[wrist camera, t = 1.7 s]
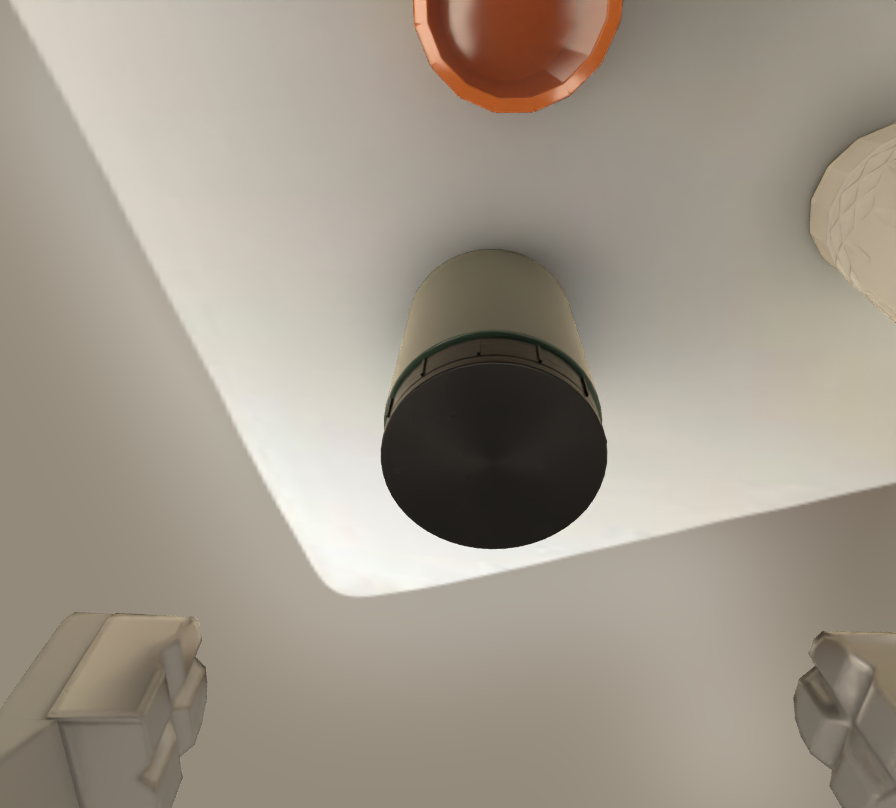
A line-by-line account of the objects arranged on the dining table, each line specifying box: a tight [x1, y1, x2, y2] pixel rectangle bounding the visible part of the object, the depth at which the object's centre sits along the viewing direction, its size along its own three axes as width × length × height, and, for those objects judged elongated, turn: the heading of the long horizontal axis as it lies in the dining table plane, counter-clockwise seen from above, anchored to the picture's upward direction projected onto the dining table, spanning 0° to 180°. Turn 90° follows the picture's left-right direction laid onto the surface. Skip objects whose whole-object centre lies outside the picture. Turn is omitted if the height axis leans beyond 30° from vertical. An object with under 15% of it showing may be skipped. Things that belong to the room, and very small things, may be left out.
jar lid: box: [381, 337, 607, 549], centre depth 25 cm, size 8×8×2 cm
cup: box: [413, 0, 623, 113], centre depth 24 cm, size 6×6×8 cm
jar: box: [384, 249, 602, 430], centre depth 29 cm, size 8×8×12 cm
